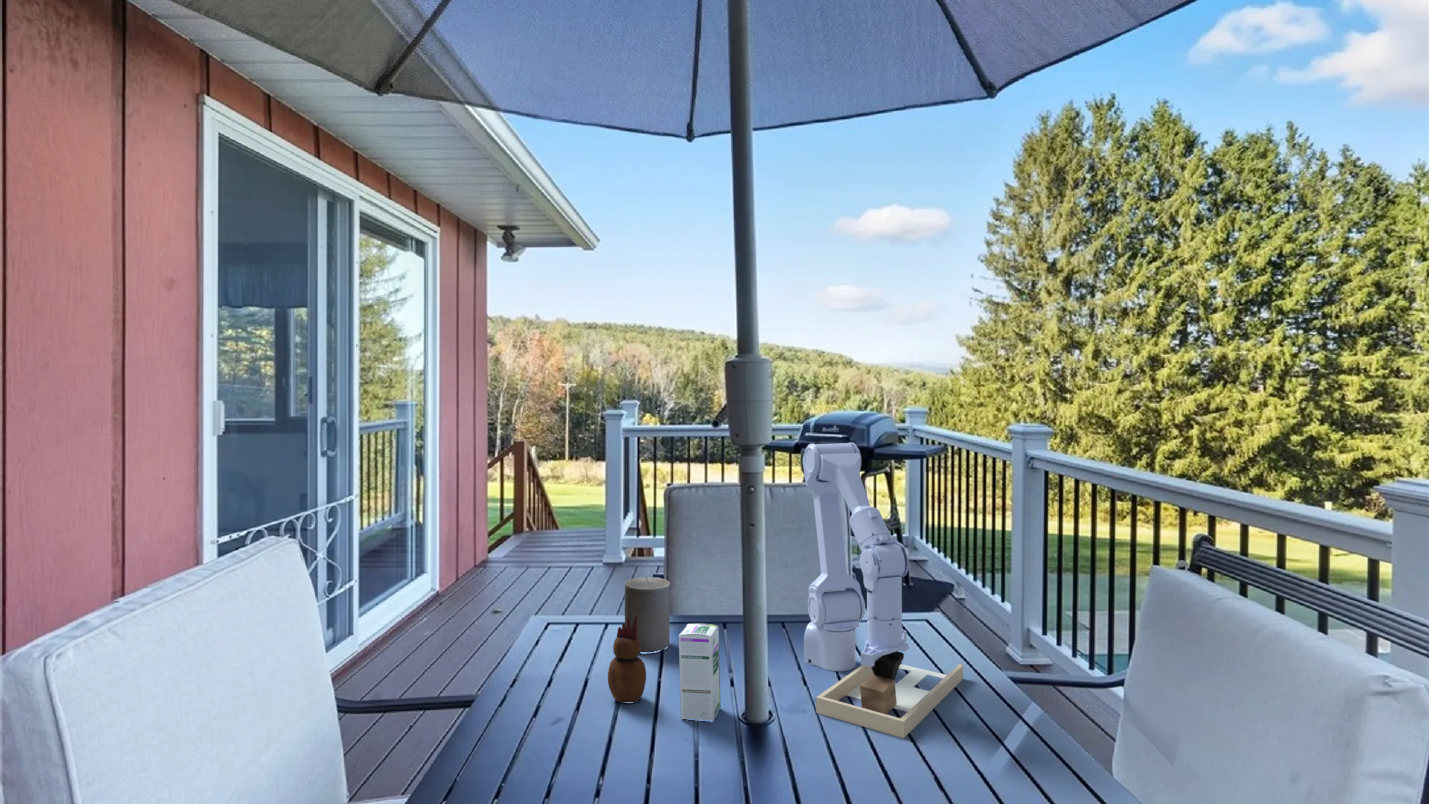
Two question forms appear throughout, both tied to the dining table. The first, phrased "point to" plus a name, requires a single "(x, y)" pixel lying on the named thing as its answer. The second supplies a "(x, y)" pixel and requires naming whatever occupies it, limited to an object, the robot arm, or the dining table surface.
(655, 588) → the pillar candle
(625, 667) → the wooden figurine
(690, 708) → the syrup box
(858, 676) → the board
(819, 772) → the dining table surface
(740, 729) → the dining table surface
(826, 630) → the robot arm
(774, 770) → the dining table surface
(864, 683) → the walnut block
